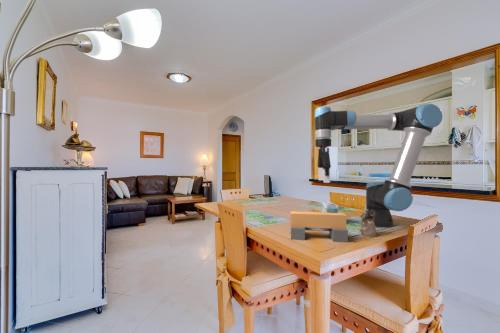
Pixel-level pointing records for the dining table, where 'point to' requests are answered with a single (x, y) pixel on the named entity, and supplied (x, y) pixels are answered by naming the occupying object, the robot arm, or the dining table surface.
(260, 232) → the dining table surface
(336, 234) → the grey dumbbell
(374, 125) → the robot arm
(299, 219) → the light wood long bar
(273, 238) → the dining table surface
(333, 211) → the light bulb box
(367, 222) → the figurine
